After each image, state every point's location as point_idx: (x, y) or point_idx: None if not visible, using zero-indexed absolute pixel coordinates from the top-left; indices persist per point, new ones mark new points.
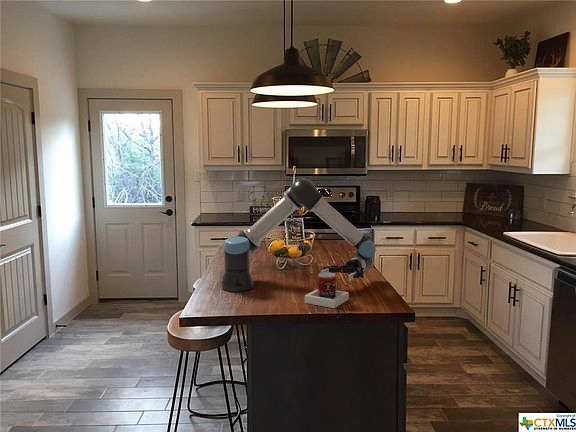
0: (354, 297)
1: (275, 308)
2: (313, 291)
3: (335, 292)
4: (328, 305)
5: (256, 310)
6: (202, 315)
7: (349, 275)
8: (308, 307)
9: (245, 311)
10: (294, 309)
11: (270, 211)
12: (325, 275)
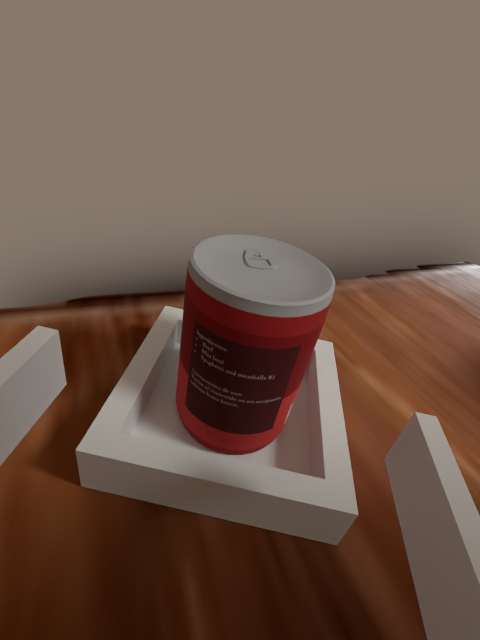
0: (9, 574)
1: (368, 312)
2: (337, 408)
3: (178, 365)
4: None
5: (399, 297)
6: (460, 270)
7: (46, 331)
8: None
9: (415, 290)
10: None
11: None
12: (269, 265)
